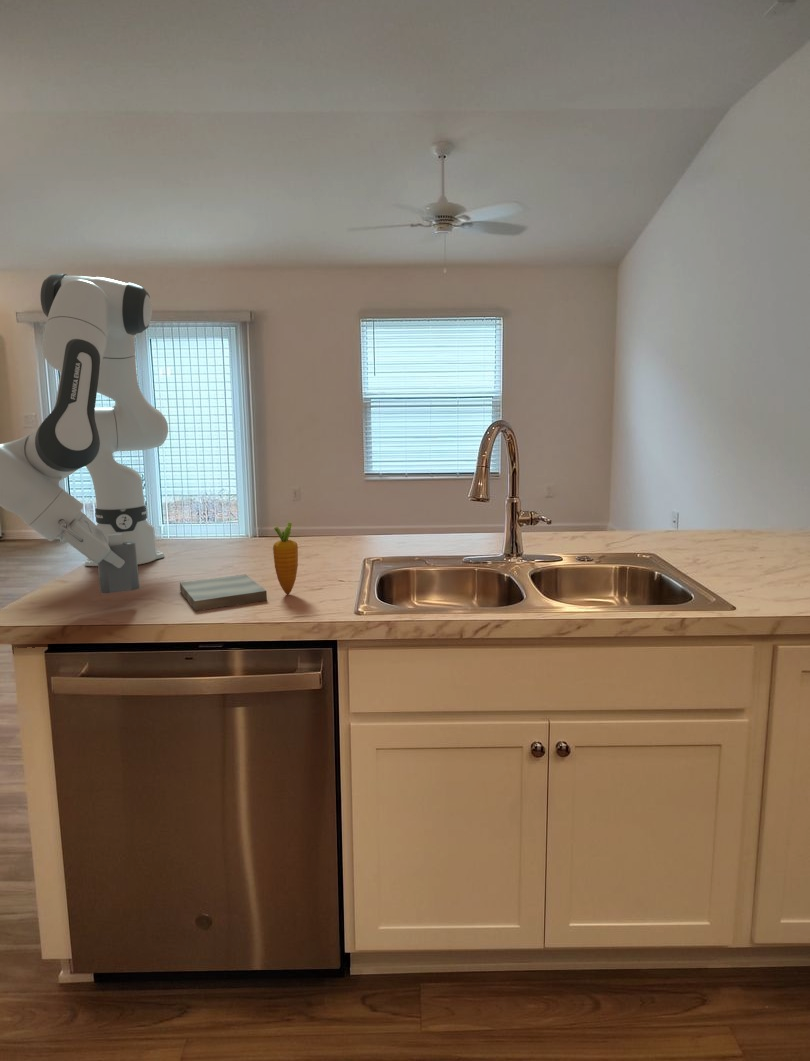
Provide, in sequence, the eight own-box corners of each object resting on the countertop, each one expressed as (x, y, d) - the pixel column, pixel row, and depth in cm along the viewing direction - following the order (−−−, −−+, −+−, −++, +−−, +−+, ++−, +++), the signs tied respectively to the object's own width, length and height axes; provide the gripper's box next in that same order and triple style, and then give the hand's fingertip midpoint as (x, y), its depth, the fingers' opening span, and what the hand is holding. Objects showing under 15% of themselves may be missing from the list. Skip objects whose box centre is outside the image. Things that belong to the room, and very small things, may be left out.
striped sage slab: (180, 591, 142) (179, 582, 141) (246, 582, 148) (245, 574, 148) (195, 611, 128) (194, 601, 128) (266, 600, 134) (266, 590, 134)
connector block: (101, 594, 128) (95, 537, 126) (100, 590, 130) (94, 534, 128) (140, 589, 131) (135, 533, 129) (138, 585, 133) (133, 531, 131)
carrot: (276, 598, 135) (272, 525, 133) (274, 592, 140) (270, 521, 137) (301, 596, 137) (298, 524, 134) (298, 590, 141) (294, 520, 139)
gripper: (73, 511, 115) (138, 560, 121) (69, 498, 133) (127, 541, 139) (47, 539, 114) (114, 587, 120) (46, 522, 132) (105, 564, 138)
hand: (121, 562), depth 130 cm, fingers closed on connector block, 3 cm apart
